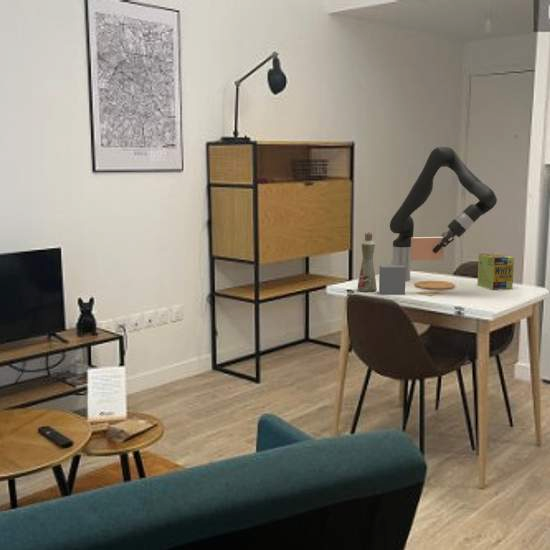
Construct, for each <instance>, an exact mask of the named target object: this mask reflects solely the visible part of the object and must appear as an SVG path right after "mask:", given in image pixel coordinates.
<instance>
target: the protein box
mask: <svg viewBox="0 0 550 550" xmlns="http://www.w3.org/2000/svg"><path fill="white" fill-rule="evenodd" d="M514 262H515V257H514V256H509V255H506V254H502V253H479V254H478V263H477V264H478V266H477V286H479V287H483V288H485V287H486V289H488V288H489V289H488V290H491V289H492V290H491V291H499V290H498V289H506V290H513V282H514V266H515V265H514V264H515V263H514Z"/></svg>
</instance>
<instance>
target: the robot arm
mask: <svg viewBox="0 0 550 550" xmlns="http://www.w3.org/2000/svg"><path fill="white" fill-rule="evenodd" d="M442 167H443V168H446V167H447V168H448V169H450V170H452V171H453V172H454V173H455V175H456V177H457V179H458V181H459V183H460V185H461V186H462V187H463V188H464V189H465V190H466V191H467V192H469V193H470V194H472V195H473V196H474V197H476V198H477V199H478V202H476V203H471V204H469V205H468V206H467V207H466V208H465V209H464V210H463V211H462V212H460V213H459V214H458V215H457V216H456V217H455V218H453V220H452V221H451V222H450V223H449V224H447V228H448V231H445V232H442V234H441V235H440V236H439V237H443V238H442V239H441V242H440V243H439V245H437V246H436V247H435V248H434V249H433V250H432V251H433V252H434V253H437V252H438V251H439V250H440V249H441V247H442V248H443V249H444V248H446V247H447V246H448V245H450V243H452V242H453V241H455V238H454V237H455V236H456V237H457V238H460V237H461V236H462V235H463V234H465V233H466V232H467V231H468V230H469V229H470V228H471V227H472V226H473V224H474V223H475V222H476V221H477V220H478V219H479V218H480V217H481V216H484V215H485V214H486V213H487V212H489V211H491V210H492V209H493V208H494V207H495V205H497V202H498V199H497V196H496V193H495V192H494V191H493V190H492V189H491V187H489V186H488V185H487V184H485V183H483V182H482V181H481V180H480V178H478V177H477V176H476V175H475V174H474V173H473V172H472V171H470V169H469V168H468V166H466V165H465V164H464V162H463V161H462V159H461V158H460V156H458V154H457V153H456V151H455V150H454V149H453V148H452V147H448V146H438V147H435V148H433V150H431V152H430V154H429V156H428V158H427V160H426V161H425V165H424V166H423V168H422V170H421V173H420V174H419V176H418V178H417V179H416V181H415V182H414V184H413V185H412V187H411V189H410V191H409V192H408V194H407V196H406V198H405V199H404V201H403V203H402V204H401V205H400V207H399V208H398V210H396V212H395V214H394V215H393V217H392V218H391V219H390V222H389V229H390V231H391V233H393V234H397V235H398V236H397V238H395V240H393V241H392V260H391V263H390V265H404V266H405V267H406V278H405V281H410V280H411V263H412V261H411V237H414V229H415V228H414V227H415V226H414V224H415V223H414V219H413V217H412V214H413V213H414V212H416V211H417V210H418V209H419V208H420V207H422V206H423V205H424V204H425V203H426V202H427V200H428V198H429V197H430V195H431V194H432V192H433V188H434V187H433V185H434V179H435V176H436V175H437V172H438V171H439V170H440V168H442Z"/></svg>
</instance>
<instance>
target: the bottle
mask: <svg viewBox="0 0 550 550" xmlns="http://www.w3.org/2000/svg"><path fill="white" fill-rule="evenodd" d="M372 239H373V232H370V231H368V232H365V233H364V240H363V241H362V243H361V250H362V259H361V260H362V261H361V266H360V271H359V276H358V281H357V282H358V283H357V291H359V292H361V293H373V292H376V291H377V290H378V288H377V280H376V275H375V267H374V251H375V247H376V243H375V242H374V241H373V240H372Z"/></svg>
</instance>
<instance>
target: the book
mask: <svg viewBox="0 0 550 550" xmlns="http://www.w3.org/2000/svg"><path fill="white" fill-rule="evenodd" d="M442 238H443V237H440V236H421V237H418V236H417V237H415V236H413V237H411V260H412V261H434V260H435V261H439V260H441V261H442V260H444V247H443V248H442V247H441V249H440V250H439V251H438V252H437V253H434V252H433V251H432V250H433V249H434V248H435V247H436V246H437V245H439V243H440V242H441V239H442Z"/></svg>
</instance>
